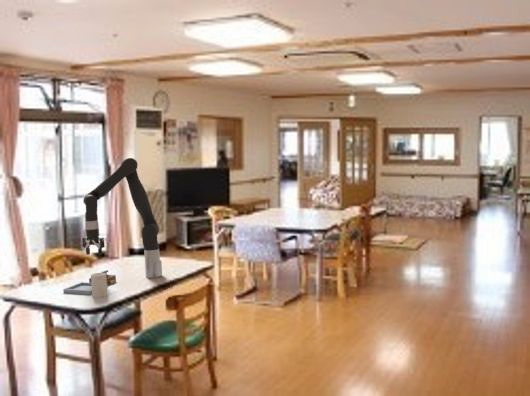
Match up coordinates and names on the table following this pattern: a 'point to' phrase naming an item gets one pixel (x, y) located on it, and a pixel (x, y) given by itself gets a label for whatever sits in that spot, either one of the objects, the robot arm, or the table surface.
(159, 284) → the table surface
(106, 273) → the stake
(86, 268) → the table surface
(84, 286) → the tray
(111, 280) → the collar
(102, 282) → the cup
